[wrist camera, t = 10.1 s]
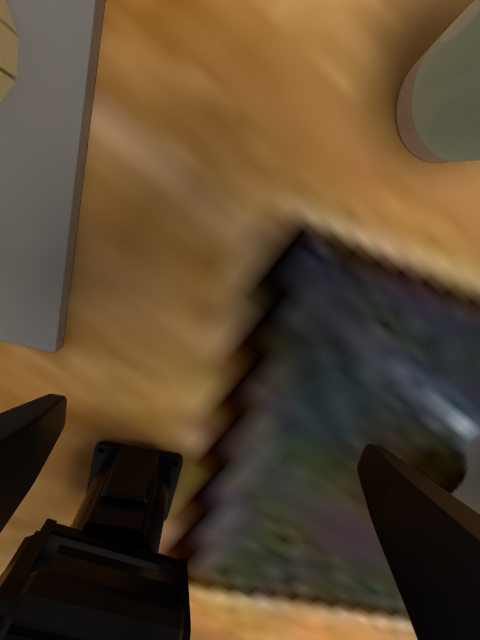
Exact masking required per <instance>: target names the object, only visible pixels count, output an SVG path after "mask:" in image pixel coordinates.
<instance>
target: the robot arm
mask: <svg viewBox="0 0 480 640" xmlns="http://www.w3.org/2000/svg"><path fill="white" fill-rule="evenodd" d="M66 405H67V399H66V397H65V396H62V395H56V394H48V395H45V396H43V397H40V398H38V399H35V400H33V401H30V402H28V403H25V404H23V405H20V406H17V407H15V408H12V409H10V410H7V411H5V412H2V413H0V532H1V531H2V530H3V528H4V527H5V525H6V524H7V522H8V521H9V519H10V518H11V516H12V515H13V513H14V512H15V510H16V509H17V507H18V506H19V504H20V503H21V502H22V500H23V499H24V497H25V496H26V494H27V493H28V491H29V490H30V488H31V487H32V485H33V483H34V482H35V480H36V478H37V477H38V475H39V473H40V471H41V469H42V467H43V466H44V464H45V462H46V460H47V458H48V456H49V454H50V453H51V451H52V449H53V447H54V445H55V443H56V441H57V440H58V438H59V436H60V434H61V432H62V430H63V428H64V425H65V418H66ZM101 448H104V449H101ZM174 461H178V462H174ZM182 464H183V458H182V457H181V456H180V455H177V454H172V453H166V452H161V451H155V450H150V449H144V448H139V447H134V446H128V445H123V444H117V443H112V442H107V441H100V442H98V443H97V445H96V447H95V449H94V454H93V459H92V465H91V471H90V476H89V482H88V488H87V494H86V496H85V498H84V500H83V502H82V504H81V506H80V508H79V510H78V512H77V514H76V517H75V519H74V521H73V523H72V525H71V527H68V526H65V525H61V524H58V523H56V522H57V521H55V520H51V519H47V520H46V522H45V524H44V525H43V527H42V528H41V530H40V531H36V532H35V533H34V535H32V536H28V537H25V539H24V540H23V542H22V543H21V545H20V547H19V548H18V550H17V552H16V553H15V555H14V557H13V558H12V560H11V561H10V563H9V564H8V566H7V567H6V569H5V570H4V572H3V573H2V574H1V576H0V640H190V633H191V621H190V605H189V588H188V572H187V559H184V558H181V557H178V558H174V557H171V556H167V555H164V554H160V553H158V550H159V544H160V539H161V534H162V528H163V523H164V521H165V520H166V519H167V517H168V513H169V510H170V506H171V503H172V499H173V496H174V492H175V489H176V485H177V482H178V478H179V475H180V471H181V468H182ZM357 471H358V476H359V479H360V482H361V486H362V489H363V493H364V496H365V500H366V503H367V506H368V510H369V513H370V517H371V520H372V523H373V526H374V528H375V531H376V534H377V536H378V539H379V541H380V544H381V547H382V549H383V552H384V554H385V557H386V559H387V562H388V564H389V567H390V570H391V572H392V575H393V577H394V580H395V582H396V585H397V588H398V590H399V593H400V595H401V598H402V600H403V603H404V606H405V608H406V611H407V613H408V616H409V618H410V621H411V623H412V626H413V629H414V631H415V634H416V636H417V639H418V640H480V514H478V513H477V512H475V511H474V510H472V509H471V508H470V507H468V506H467V505H465V504H464V503H463V502H461V501H460V500H458V499H457V498H455V497H454V496H452V495H451V494H450V493H448V492H447V491H445V490H444V489H442V488H441V487H440V486H438V485H437V484H435V483H434V482H432V481H431V480H430V479H428V478H427V477H425V476H424V475H422V474H421V473H420V472H418V471H417V470H415V469H414V468H412V467H411V466H410V465H408V464H407V463H405V462H404V461H402V460H401V459H400V458H398V457H397V456H395V455H394V454H392V453H391V452H390V451H388V450H387V449H385V448H384V447H382V446H380V445H375V444H367V445H366V446H365V448H364V451H363V453H362V455H361V458H360V460H359V463H358V466H357Z"/></svg>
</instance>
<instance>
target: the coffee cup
mask: <svg viewBox="0 0 480 640" xmlns="http://www.w3.org/2000/svg"><path fill="white" fill-rule="evenodd" d="M396 118H397V126H398V131H399V134H400V137H401V139H402V141H403V143H404V144H405V146H406V147H407V149H408V150H409V151H410V152H411V153H412V154H413V155H415V156H416V157H418V158H420V159H422V160H424V161H427V162H433V163H443V162H459V161H474V160H480V0H474V1H473V2H472V3H471V4H470V5H469V6H468V7H467V8H466V9H465V10H464V11H463V12H462V13H461V14H460V16H459V17H458V18H457V19H456V20H455V21H454V22H453V23H452V24H451V25H450V26H449V27H448V28H447V29H446V30H445V31H444V33H443V34H442V35H441V36H440V37H439V38H438V39H437V40H436V41H435V42H434V43H433V44H432V45H431V47H430V48H429V49H428V50H427V51H426V52H425V53H424V54H423V55H422V56H421V57H420V58H419V59H418V61H417V62H416V63H415V64H414V65H413V67H412V68H411V69H410V71H409V73H408V74H407V76H406V78H405V80H404V82H403V84H402V87H401V90H400V93H399V97H398V102H397V110H396Z"/></svg>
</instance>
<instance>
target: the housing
mask: <svg viewBox="0 0 480 640" xmlns="http://www.w3.org/2000/svg"><path fill="white" fill-rule="evenodd" d="M104 6H105V0H0V341H2V342H7V343H11V344H16V345H21V346H25V347H30V348H34V349H39V350H43V351H48V352H52V353H56V352H57V351H58V350H59V349H61V348H62V347H63V340H64V332H65V324H66V316H67V308H68V300H69V292H70V283H71V275H72V267H73V259H74V251H75V243H76V234H77V226H78V218H79V210H80V202H81V194H82V186H83V177H84V169H85V161H86V153H87V145H88V137H89V129H90V120H91V112H92V104H93V96H94V88H95V80H96V71H97V63H98V55H99V47H100V39H101V31H102V23H103V14H104Z"/></svg>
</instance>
